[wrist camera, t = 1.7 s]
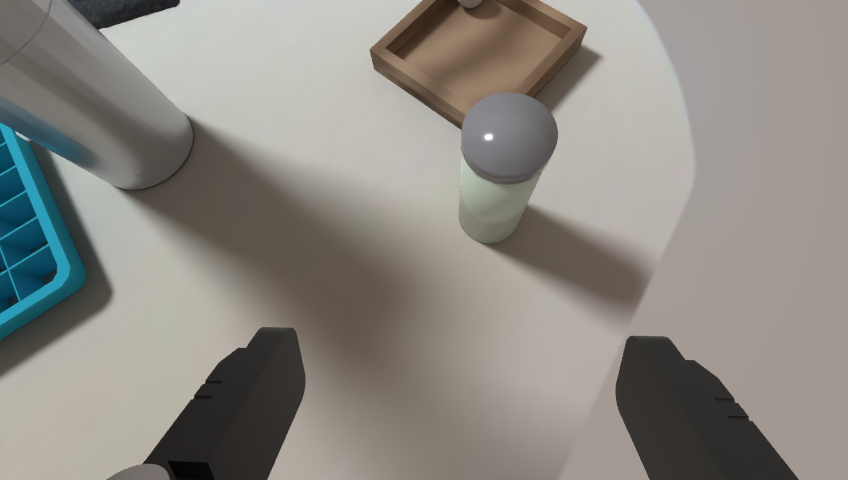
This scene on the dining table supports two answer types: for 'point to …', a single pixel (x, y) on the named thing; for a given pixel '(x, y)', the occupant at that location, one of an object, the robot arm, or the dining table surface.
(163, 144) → the robot arm
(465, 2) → the ball
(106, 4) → the dark slate chunk
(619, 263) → the dining table surface
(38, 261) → the ice cube tray
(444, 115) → the tray
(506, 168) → the shaker
